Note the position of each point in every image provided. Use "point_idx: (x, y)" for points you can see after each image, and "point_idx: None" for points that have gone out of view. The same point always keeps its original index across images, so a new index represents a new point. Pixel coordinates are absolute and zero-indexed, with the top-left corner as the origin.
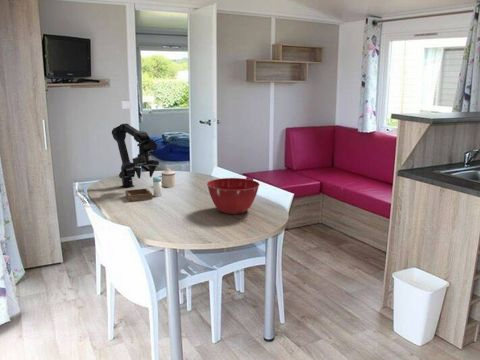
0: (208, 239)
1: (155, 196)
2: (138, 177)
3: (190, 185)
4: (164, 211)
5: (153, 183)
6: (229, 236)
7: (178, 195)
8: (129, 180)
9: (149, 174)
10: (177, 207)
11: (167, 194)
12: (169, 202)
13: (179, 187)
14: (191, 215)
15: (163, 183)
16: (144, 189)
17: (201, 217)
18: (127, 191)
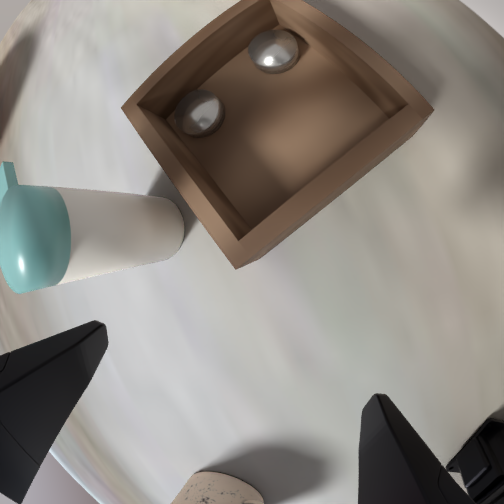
0: (30, 5)
1: (153, 196)
2: (383, 402)
3: (136, 478)
4: (81, 35)
5: (79, 197)
6: (8, 36)
7: (80, 303)
8: (486, 469)
9: (74, 344)
10: (48, 101)
11: (133, 319)
12: (75, 146)
13: (157, 461)
14: (27, 67)
15: (234, 495)
16: (250, 232)
17: (15, 72)
18: (387, 77)
